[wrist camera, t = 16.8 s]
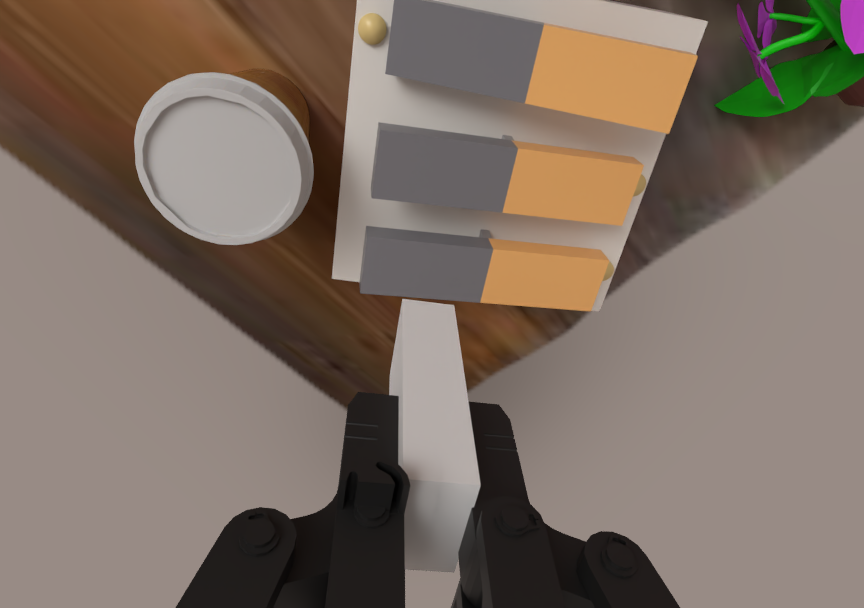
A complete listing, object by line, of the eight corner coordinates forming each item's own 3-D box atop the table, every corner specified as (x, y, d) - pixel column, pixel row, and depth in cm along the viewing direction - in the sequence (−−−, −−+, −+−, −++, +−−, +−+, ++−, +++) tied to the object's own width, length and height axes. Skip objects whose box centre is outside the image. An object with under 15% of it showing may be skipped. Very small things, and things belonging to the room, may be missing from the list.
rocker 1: (391, 69, 34) (385, 73, 33) (401, -7, 32) (394, -6, 31) (663, 127, 33) (669, 133, 32) (691, 52, 31) (698, 55, 30)
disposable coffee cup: (175, 52, 39) (93, 90, 29) (316, 33, 39) (286, 65, 28) (219, 188, 44) (163, 262, 34) (344, 172, 44) (327, 242, 33)
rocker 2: (359, 280, 39) (360, 293, 37) (366, 225, 37) (366, 236, 35) (583, 299, 42) (591, 311, 40) (600, 249, 40) (609, 260, 38)
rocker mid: (370, 188, 35) (371, 198, 34) (378, 122, 33) (379, 129, 32) (612, 215, 39) (622, 225, 37) (633, 156, 36) (644, 165, 35)
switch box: (339, 242, 46) (329, 289, 40) (366, -47, 36) (359, -46, 30) (578, 273, 49) (605, 322, 43) (667, 11, 39) (720, 24, 32)
